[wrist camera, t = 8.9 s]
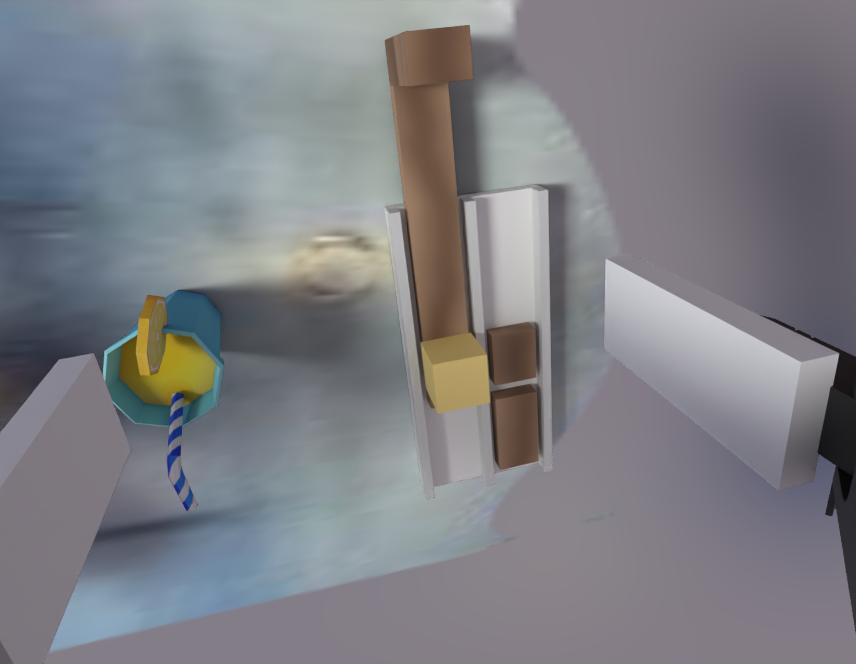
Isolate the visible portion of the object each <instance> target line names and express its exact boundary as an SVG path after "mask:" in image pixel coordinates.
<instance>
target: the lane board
mask: <svg viewBox="0 0 856 664" xmlns="http://www.w3.org/2000/svg"><path fill="white" fill-rule="evenodd" d="M457 199H458V211H459V224H460V236H461V249H462V261H463V274H464V286H465V298H466V311H467V323H468V333H472V335H473V336H474V337H475V339H476V340H477V341H478V343H479V344H480V346H481V347H482V348H483V350H484V351H485V352H486V354H487V363H488V378H489V393H490V403H486V404H482V405H477V406H472V407H467V408H462V409H458V410H453V411H448V412H443V413H438V414H437V411H436V409H435V408H433V409H431V407H430V405H429V403H428V400H427V393H426V385H425V376H424V368H423V359H422V351H421V342H420V334H419V326H418V317H417V309H416V300H415V292H414V283H413V275H412V266H411V258H410V250H409V241H408V233H407V224H406V216H405V207H404V204H399V205H392V206H385V215H386V223H387V230H388V238H389V245H390V253H391V260H392V268H393V275H394V283H395V290H396V298H397V305H398V313H399V320H400V328H401V336H402V343H403V351H404V358H405V366H406V373H407V381H408V388H409V396H410V403H411V411H412V418H413V426H414V433H415V441H416V449H417V456H418V464H419V471H420V479H421V483H422V487H423V490H424V493H425V496H426V499H431V498H435V495H434V487H435V486H439V485H444V484H448V483H452V482H457V481H461V480H466V479H470V478H474V477H479V476H482V477H483V479H484V481H485V483H486V485H492V484H495V481H494V473H496V472H501V471H505V470H510V469H514V468H518V467H523V466H527V465H532V464H536V463H539V464H540V465H541V467H542V468H543V470H544V471H545V472H547V471H552V470H553V466H552V465H553V463H552V462H553V461H552V398H551V336H550V274H549V212H548V189H545V188H543V187H540V186H538V185H535V184H534V185H527V186H520V187H513V188H507V189H500V190H493V191H486V192H480V193H473V194H466V195H459V196H457ZM523 322H529V323H530V324H531V325H532V326H533V327H534V328H535V347H536V378H531V379H526V380H522V381H517V382H512V383H507V384H502V385H497V386H495V385H494V384H493V382H492V381H491V379H490V377H489V362H488V347H487V332H486V329H491V328H497V327H502V326H507V325H513V324H518V323H523ZM526 384H531V385H532V386H533V387H534V389H535V390H536V391H537V418H538V454H539V461H538V462H534V463H529V464H525V465H520V466H516V467H512V468H507V469H503V470H500V469H499V467H498V465H497V463H496V461H495V453H494V438H493V423H492V407H491V392H492V391H496V390H501V389H506V388H511V387H516V386H521V385H526Z"/></svg>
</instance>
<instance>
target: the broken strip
mask: <svg viewBox="0 0 856 664" xmlns="http://www.w3.org/2000/svg"><path fill="white" fill-rule="evenodd" d="M486 332H487V347H488V362H489V377H490V379H491V381H492V382H493V384H494V385H495V386H497V385H502V384H507V383H512V382H517V381H522V380H526V379H531V378H536V347H535V328H534V327H533V326H532V325H531V324H530V323H529V322H523V323H518V324H513V325H507V326H502V327H497V328H491V329H486ZM491 407H492V423H493V438H494V453H495V461H496V463H497V465H498V467H499V469H500V470H503V469H507V468H512V467H516V466H520V465H525V464H529V463H534V462H538V461H539V454H538V418H537V391H536V390H535V389H534V387H533V386H532V385H531V384H526V385H521V386H516V387H511V388H506V389H501V390H496V391H492V392H491Z"/></svg>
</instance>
